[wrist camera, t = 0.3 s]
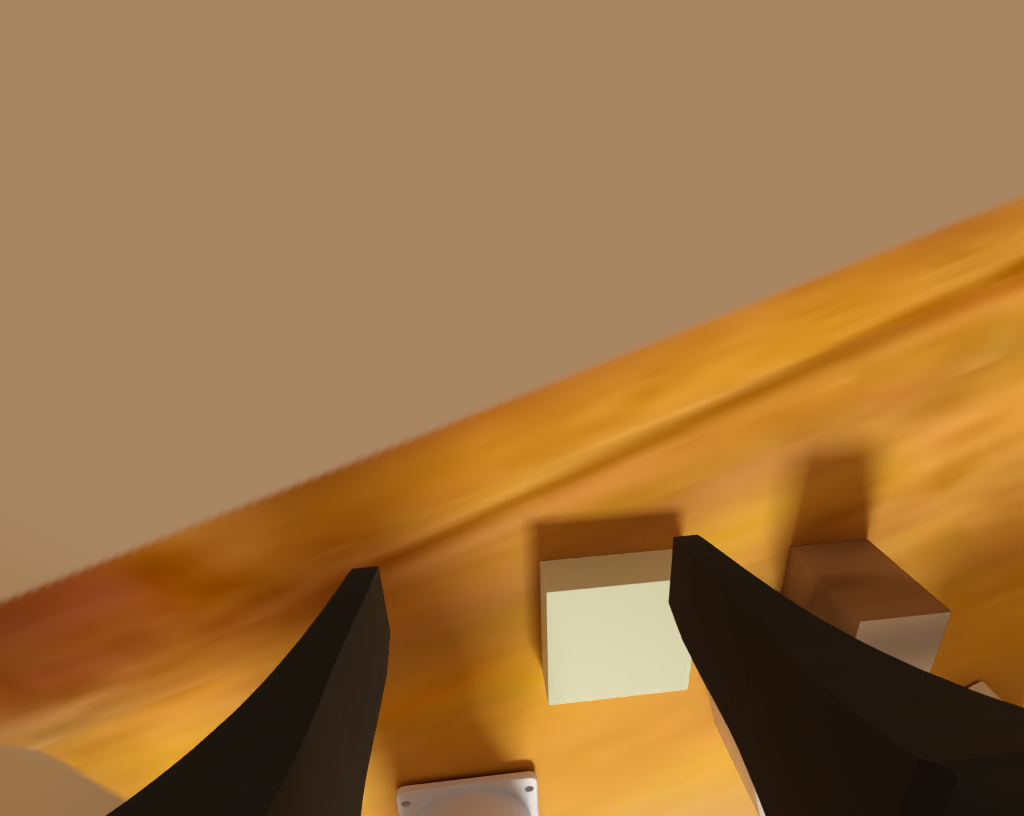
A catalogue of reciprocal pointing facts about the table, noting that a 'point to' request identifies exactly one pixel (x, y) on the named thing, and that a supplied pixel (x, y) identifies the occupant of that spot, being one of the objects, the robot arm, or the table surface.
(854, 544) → the walnut block
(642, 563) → the sage slab
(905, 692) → the robot arm
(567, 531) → the table surface
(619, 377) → the table surface
